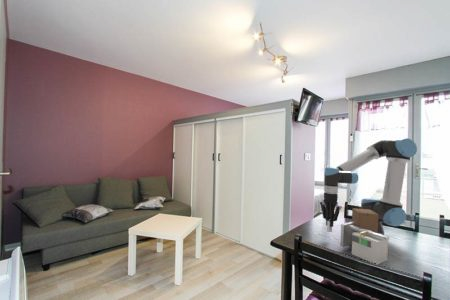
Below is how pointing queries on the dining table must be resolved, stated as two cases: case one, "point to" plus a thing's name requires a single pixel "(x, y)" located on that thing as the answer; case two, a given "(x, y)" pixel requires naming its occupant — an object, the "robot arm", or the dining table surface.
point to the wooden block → (365, 219)
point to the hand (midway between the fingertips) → (329, 231)
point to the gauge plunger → (351, 228)
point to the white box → (369, 248)
